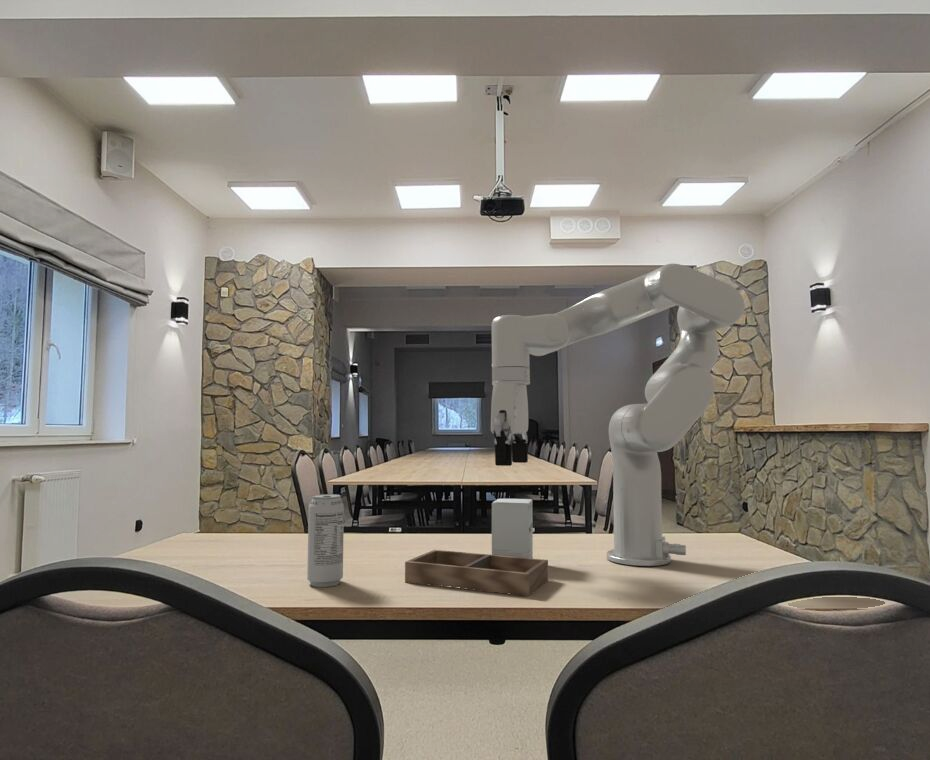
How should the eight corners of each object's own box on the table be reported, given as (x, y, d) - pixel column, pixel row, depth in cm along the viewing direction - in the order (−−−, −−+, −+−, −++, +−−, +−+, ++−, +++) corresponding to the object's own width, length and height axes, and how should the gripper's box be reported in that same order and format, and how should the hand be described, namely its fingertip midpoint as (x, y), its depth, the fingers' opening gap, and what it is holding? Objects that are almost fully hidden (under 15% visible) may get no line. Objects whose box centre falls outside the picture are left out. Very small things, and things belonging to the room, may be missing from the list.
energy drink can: (339, 577, 111) (341, 493, 112) (345, 586, 106) (346, 496, 107) (305, 580, 109) (306, 494, 110) (309, 589, 104) (310, 498, 105)
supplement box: (529, 570, 117) (528, 502, 118) (490, 568, 119) (490, 501, 120) (533, 562, 124) (533, 498, 125) (497, 560, 126) (497, 497, 127)
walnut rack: (548, 580, 110) (547, 559, 110) (528, 596, 99) (527, 574, 100) (434, 568, 119) (434, 549, 119) (404, 582, 108) (405, 561, 109)
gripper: (507, 380, 133) (508, 461, 132) (477, 375, 118) (477, 466, 116) (541, 379, 130) (542, 461, 129) (514, 373, 115) (515, 467, 113)
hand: (512, 463), depth 123 cm, fingers open, 9 cm apart
